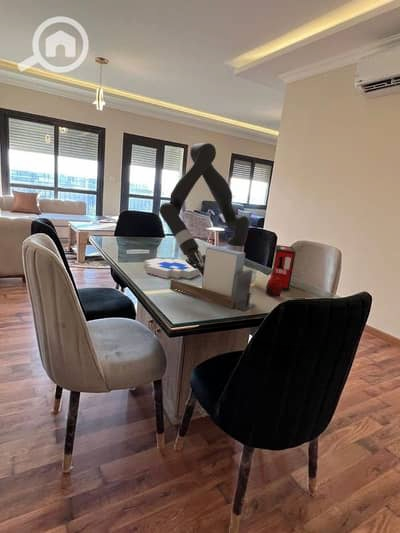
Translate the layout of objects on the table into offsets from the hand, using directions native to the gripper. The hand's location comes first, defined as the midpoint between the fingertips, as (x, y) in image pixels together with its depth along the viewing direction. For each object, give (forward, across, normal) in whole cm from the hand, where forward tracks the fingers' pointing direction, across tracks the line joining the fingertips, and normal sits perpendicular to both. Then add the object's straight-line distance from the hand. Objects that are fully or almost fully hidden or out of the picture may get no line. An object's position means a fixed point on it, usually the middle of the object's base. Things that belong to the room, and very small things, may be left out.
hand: (205, 275), depth 137 cm
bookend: (+20, 0, -8) cm, 21 cm away
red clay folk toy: (+21, +26, -10) cm, 35 cm away
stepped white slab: (-17, +18, +30) cm, 39 cm away
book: (+12, 0, 0) cm, 12 cm away
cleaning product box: (+18, +44, -7) cm, 49 cm away
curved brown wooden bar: (+7, 0, +4) cm, 8 cm away
